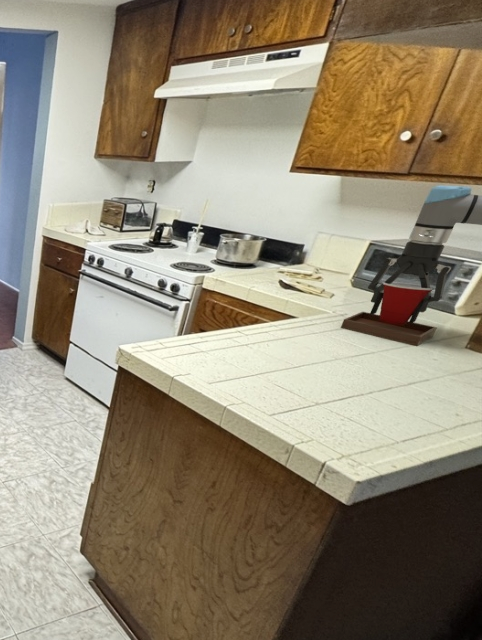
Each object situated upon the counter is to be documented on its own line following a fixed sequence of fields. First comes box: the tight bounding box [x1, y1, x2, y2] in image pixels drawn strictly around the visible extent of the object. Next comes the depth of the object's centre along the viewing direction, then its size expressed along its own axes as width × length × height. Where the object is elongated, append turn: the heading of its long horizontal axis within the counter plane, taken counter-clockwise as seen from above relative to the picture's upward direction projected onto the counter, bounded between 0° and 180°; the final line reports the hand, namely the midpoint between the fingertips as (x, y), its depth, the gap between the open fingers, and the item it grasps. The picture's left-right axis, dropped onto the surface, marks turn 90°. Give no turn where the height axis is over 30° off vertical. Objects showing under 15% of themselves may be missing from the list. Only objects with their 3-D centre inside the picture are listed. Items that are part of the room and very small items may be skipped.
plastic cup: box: [379, 281, 436, 325], centre depth 140 cm, size 11×11×12 cm
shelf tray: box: [340, 311, 438, 347], centre depth 144 cm, size 17×16×3 cm
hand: (392, 317), depth 142 cm, fingers closed on plastic cup, 8 cm apart
